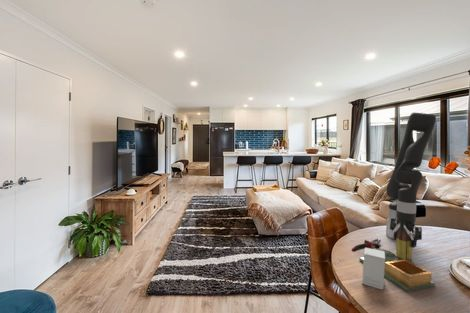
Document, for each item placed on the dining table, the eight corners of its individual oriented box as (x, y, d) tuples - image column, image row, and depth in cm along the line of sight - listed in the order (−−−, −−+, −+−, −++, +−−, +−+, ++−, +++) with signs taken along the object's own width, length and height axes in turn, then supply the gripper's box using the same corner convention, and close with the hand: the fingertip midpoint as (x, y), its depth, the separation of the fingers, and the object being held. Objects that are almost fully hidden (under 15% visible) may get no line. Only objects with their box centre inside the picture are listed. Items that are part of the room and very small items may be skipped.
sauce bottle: (408, 257, 116) (411, 218, 115) (413, 263, 110) (416, 222, 109) (393, 255, 118) (395, 216, 117) (397, 261, 113) (399, 220, 111)
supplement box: (383, 290, 90) (385, 258, 89) (361, 284, 94) (363, 253, 93) (383, 280, 97) (385, 251, 96) (363, 275, 100) (364, 246, 100)
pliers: (367, 253, 116) (387, 240, 129) (350, 246, 124) (371, 234, 136) (367, 259, 117) (387, 245, 129) (350, 252, 124) (370, 239, 136)
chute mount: (359, 260, 113) (359, 249, 112) (383, 257, 116) (383, 246, 116) (407, 291, 90) (407, 277, 89) (434, 286, 93) (435, 273, 93)
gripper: (427, 214, 107) (425, 249, 108) (398, 206, 121) (397, 236, 122) (414, 215, 105) (412, 250, 106) (387, 207, 119) (385, 238, 120)
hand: (404, 243), depth 114 cm, fingers open, 8 cm apart
